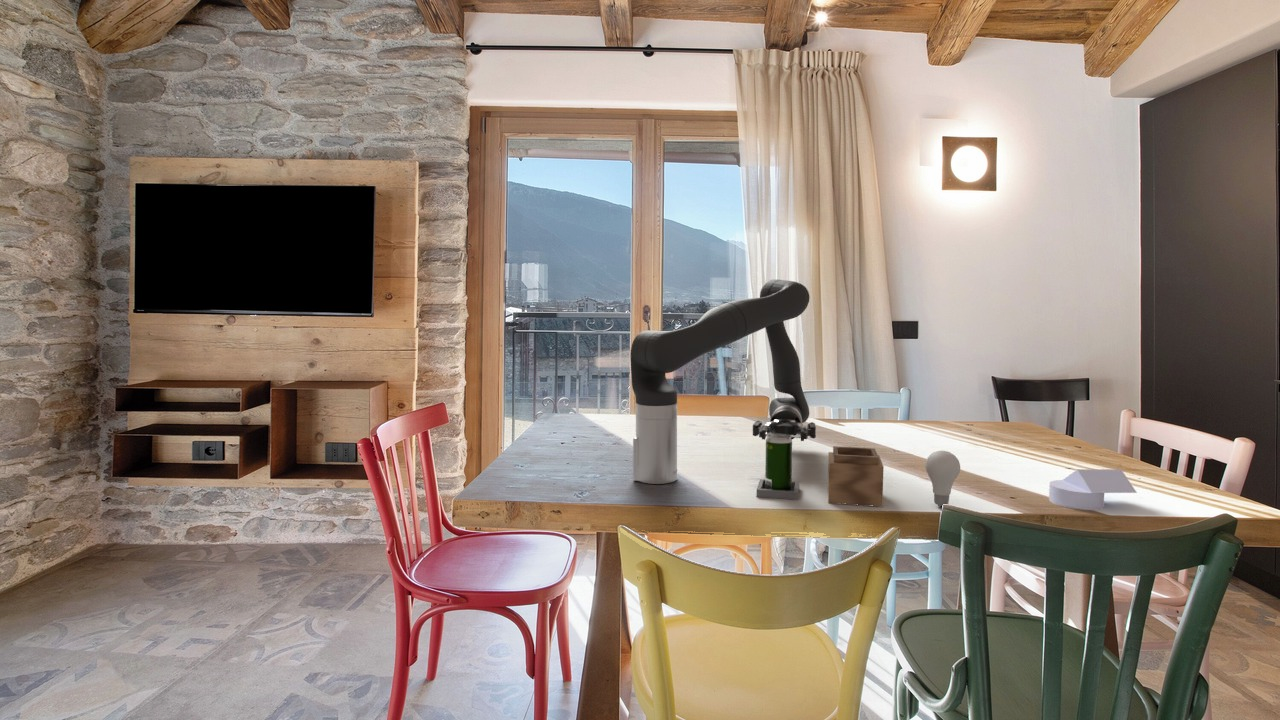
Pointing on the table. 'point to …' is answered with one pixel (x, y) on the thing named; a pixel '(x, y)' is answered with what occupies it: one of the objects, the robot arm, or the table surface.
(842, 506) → the table surface
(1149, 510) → the table surface
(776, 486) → the beer can
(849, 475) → the walnut stand
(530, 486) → the table surface
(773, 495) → the charcoal holder
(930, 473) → the lightbulb
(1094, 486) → the wedge on round base
